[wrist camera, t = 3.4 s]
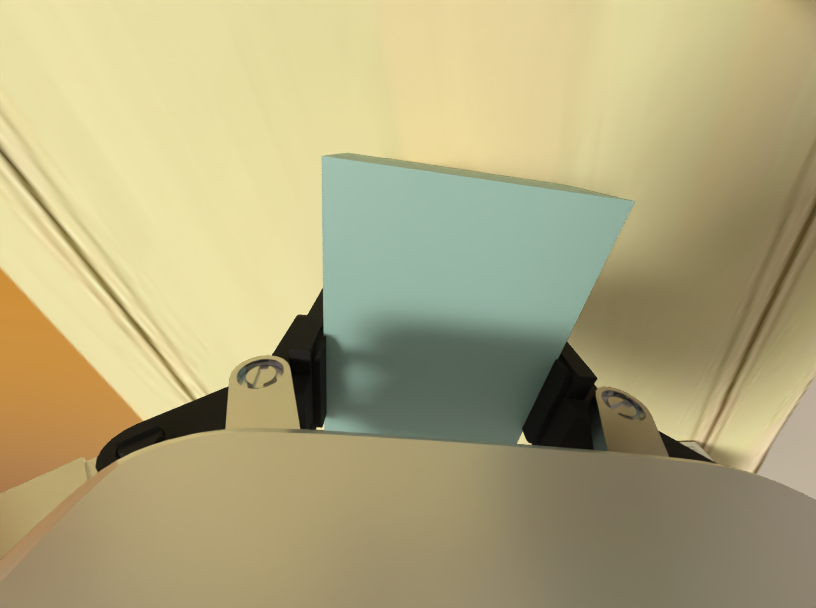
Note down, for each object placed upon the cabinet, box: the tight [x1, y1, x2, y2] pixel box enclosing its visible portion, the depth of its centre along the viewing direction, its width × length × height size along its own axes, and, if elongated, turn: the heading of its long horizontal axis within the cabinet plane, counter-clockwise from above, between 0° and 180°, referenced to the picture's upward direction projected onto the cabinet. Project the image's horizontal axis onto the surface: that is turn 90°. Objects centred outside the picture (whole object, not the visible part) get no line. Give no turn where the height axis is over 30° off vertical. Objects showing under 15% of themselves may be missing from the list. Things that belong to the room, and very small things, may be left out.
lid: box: [322, 153, 635, 444], centre depth 11 cm, size 12×6×4 cm, turn 172°
